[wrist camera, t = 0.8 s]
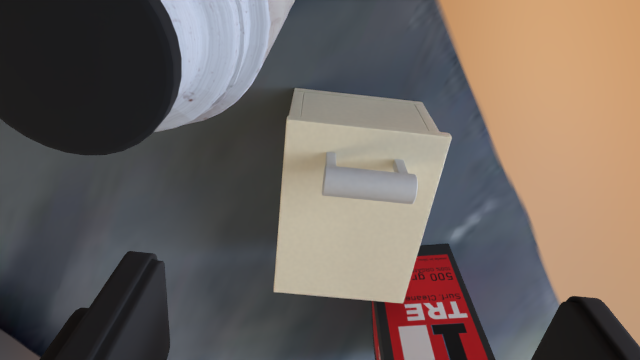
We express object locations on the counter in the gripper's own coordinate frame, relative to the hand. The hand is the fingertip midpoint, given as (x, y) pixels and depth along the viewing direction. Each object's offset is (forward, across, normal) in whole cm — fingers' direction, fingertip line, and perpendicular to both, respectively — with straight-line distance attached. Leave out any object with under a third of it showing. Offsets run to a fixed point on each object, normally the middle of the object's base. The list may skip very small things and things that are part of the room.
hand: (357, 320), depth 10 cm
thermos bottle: (+30, +7, -6) cm, 32 cm away
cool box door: (+22, -3, +11) cm, 24 cm away
